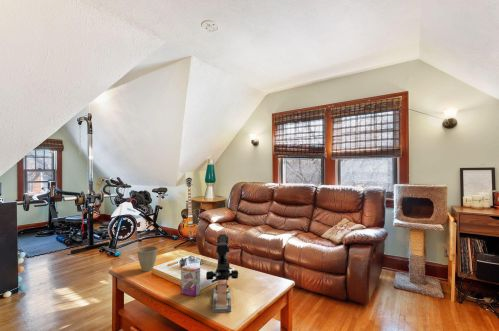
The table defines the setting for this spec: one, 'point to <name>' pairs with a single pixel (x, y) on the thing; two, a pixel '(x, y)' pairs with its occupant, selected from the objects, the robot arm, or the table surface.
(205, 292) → the table surface
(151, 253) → the plant pot
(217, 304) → the salmon pink rectangular block
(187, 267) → the candy bar box
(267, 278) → the table surface
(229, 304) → the track
